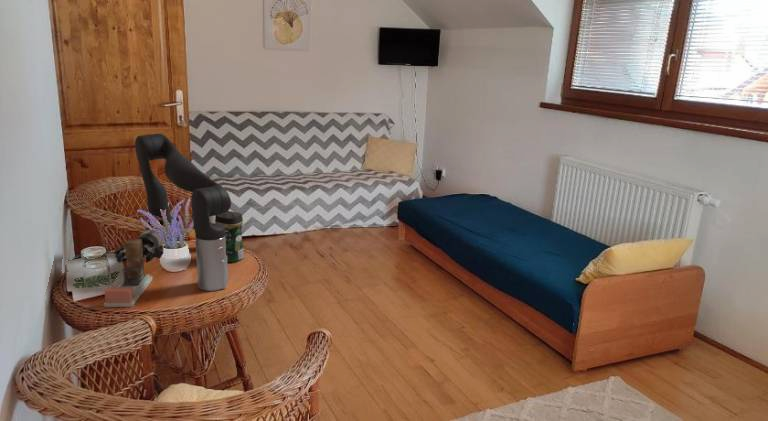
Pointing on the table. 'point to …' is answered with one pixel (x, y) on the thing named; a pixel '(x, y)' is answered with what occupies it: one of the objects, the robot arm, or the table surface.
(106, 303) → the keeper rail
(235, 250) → the coffee jar
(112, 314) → the table surface
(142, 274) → the chain block
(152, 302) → the table surface
